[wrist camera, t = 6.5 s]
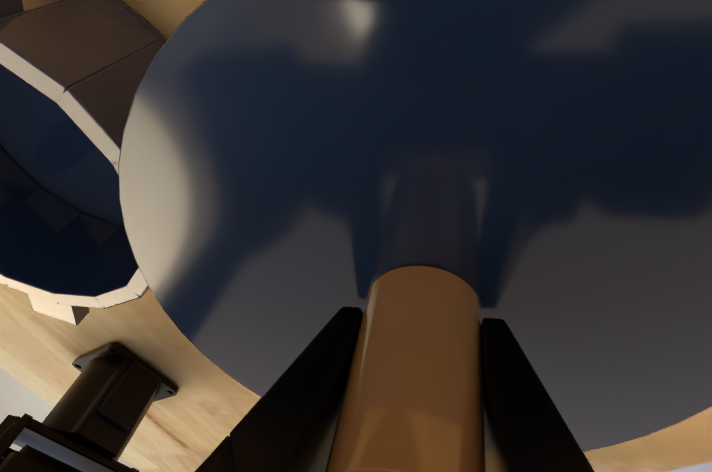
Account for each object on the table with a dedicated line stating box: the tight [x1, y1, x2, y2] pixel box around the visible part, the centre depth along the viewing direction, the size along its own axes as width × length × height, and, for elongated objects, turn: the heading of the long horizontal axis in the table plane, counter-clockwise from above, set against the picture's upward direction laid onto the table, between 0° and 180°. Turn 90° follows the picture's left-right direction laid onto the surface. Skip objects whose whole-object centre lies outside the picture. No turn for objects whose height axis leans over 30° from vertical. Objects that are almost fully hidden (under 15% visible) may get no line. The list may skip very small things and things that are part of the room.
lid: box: [118, 0, 712, 472], centre depth 8 cm, size 14×14×5 cm
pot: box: [0, 0, 167, 325], centre depth 18 cm, size 13×18×6 cm
